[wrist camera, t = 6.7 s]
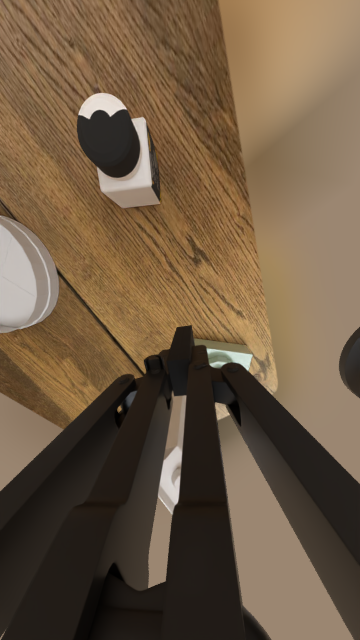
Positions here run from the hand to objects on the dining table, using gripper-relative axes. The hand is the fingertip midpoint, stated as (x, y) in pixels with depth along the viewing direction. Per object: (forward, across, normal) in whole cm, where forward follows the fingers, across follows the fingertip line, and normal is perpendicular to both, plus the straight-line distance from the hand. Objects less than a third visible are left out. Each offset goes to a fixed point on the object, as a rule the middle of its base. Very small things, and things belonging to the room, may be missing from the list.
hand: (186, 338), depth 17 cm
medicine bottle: (+18, -5, +22) cm, 28 cm away
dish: (+18, -36, +12) cm, 42 cm away
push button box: (+17, +3, -13) cm, 22 cm away
